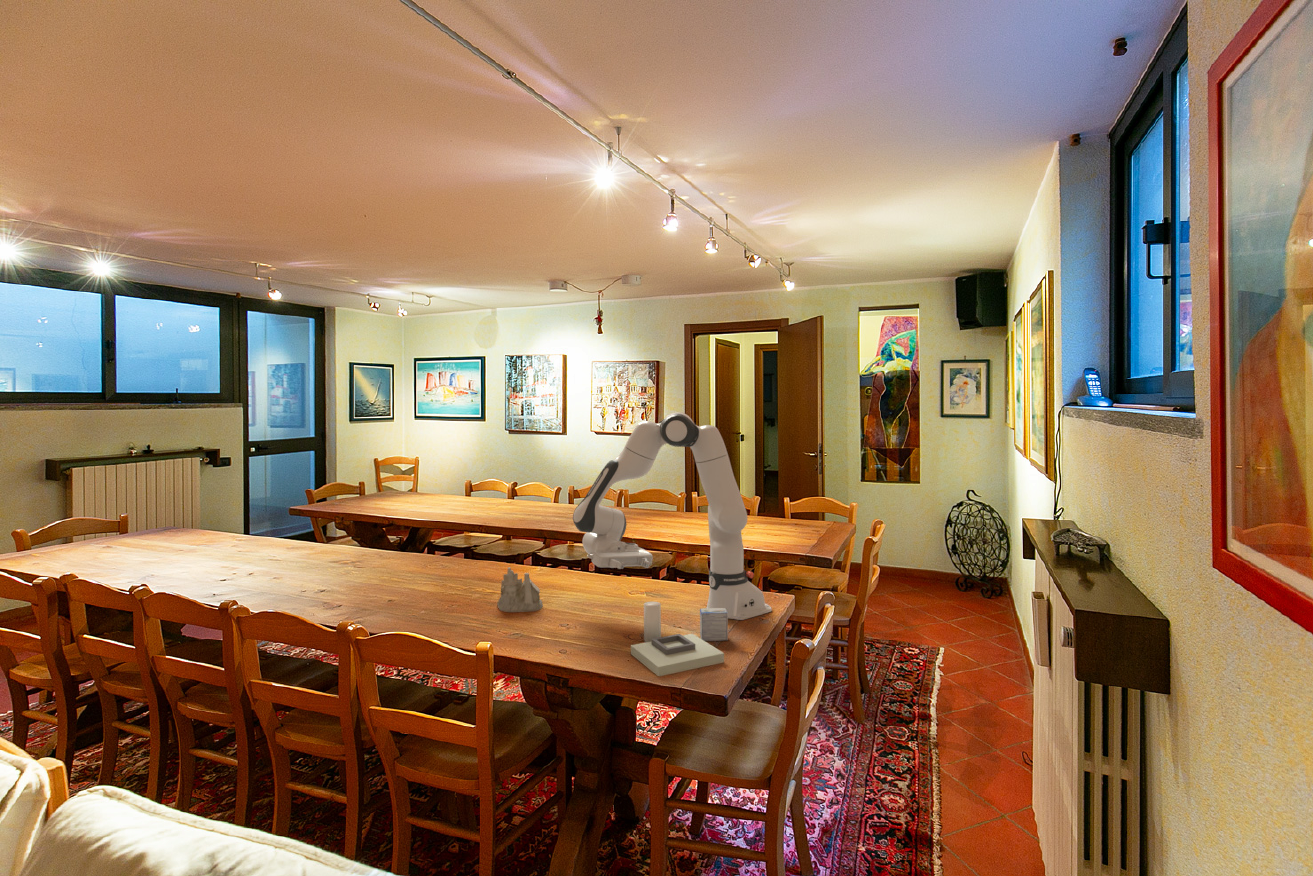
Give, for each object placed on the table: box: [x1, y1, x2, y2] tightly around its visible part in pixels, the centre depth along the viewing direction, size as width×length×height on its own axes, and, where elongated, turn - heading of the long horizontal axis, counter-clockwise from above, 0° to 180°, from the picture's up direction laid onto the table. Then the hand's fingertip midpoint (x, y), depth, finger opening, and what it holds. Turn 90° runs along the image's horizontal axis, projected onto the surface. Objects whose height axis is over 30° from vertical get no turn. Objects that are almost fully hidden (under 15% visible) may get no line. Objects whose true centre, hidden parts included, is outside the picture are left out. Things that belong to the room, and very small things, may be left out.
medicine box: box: [699, 607, 729, 642], centre depth 193 cm, size 8×4×9 cm, turn 92°
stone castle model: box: [497, 567, 544, 613], centre depth 226 cm, size 16×16×15 cm
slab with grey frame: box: [630, 633, 725, 677], centre depth 178 cm, size 20×17×4 cm
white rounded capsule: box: [643, 601, 662, 643], centre depth 191 cm, size 5×5×11 cm
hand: (634, 565), depth 200 cm, fingers open, 8 cm apart
